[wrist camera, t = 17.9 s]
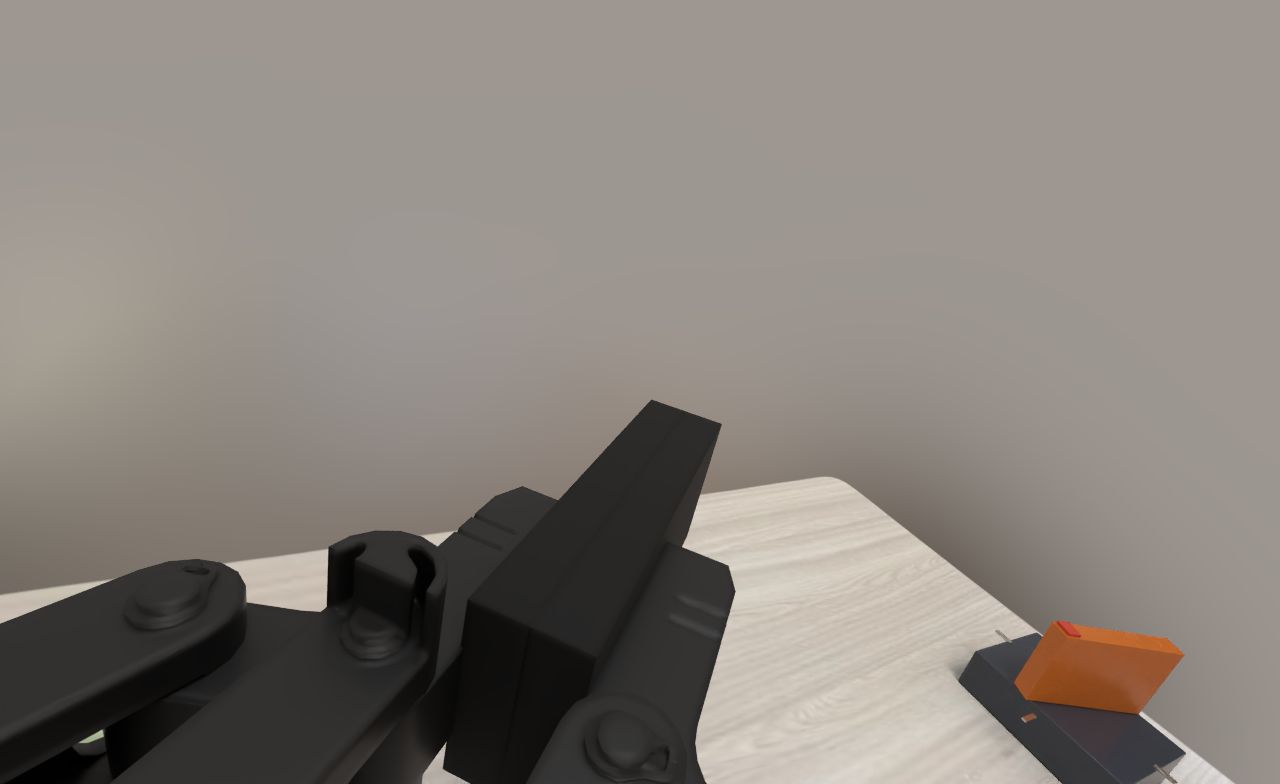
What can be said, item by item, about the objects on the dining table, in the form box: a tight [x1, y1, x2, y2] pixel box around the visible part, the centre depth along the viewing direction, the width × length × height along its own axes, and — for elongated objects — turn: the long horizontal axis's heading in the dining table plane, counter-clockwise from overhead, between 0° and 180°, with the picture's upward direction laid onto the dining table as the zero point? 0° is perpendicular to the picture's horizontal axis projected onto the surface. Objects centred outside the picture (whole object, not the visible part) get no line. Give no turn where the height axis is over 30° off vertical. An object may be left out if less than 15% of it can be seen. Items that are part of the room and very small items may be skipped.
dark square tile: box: [959, 630, 1186, 784], centre depth 49 cm, size 14×14×4 cm
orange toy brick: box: [1014, 621, 1184, 714], centre depth 47 cm, size 10×2×7 cm, turn 93°
